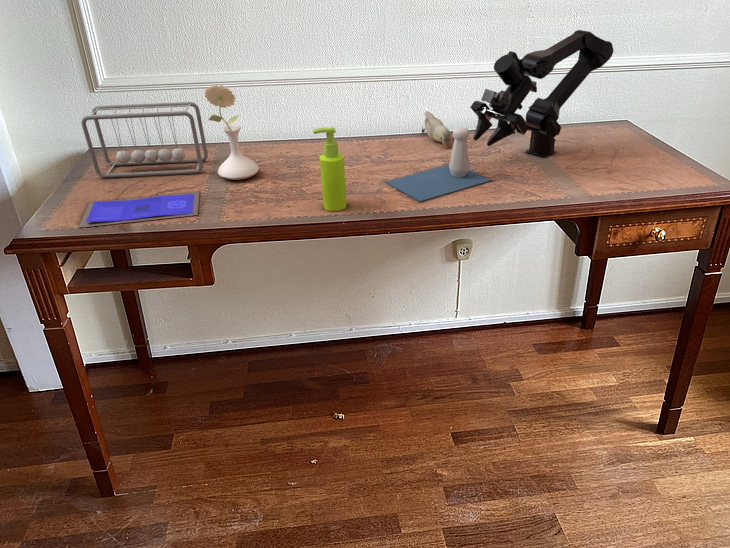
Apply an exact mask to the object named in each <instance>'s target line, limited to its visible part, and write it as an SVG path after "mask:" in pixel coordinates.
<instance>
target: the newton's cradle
mask: <svg viewBox="0 0 730 548" xmlns="http://www.w3.org/2000/svg"><path fill="white" fill-rule="evenodd" d="M190 107H193V108H194V110H195V114H196V120H197V125H198V131H199V137H200V143H201V147H202V151H203V152H202V153H203V156H202V154H201V149H200V143H199V139H198V132H197V127H196V121H195V119H194V116H193V114H191V113H190V112H189V111H188V110H189V108H190ZM163 108H168V110H167V111H158V109H163ZM172 108H185V109H184V110H171V109H172ZM144 109H154V110H153V111H149V112H148V111H147V112H146V111H144ZM118 110H119V111H121V110H126V111H125V112H123V113H117V111H118ZM130 110H142V112H141V111H139V112H131V111H130ZM98 111H114V113H104V114H103V113H102V114H97V112H98ZM182 116H183V117H184V116H186V117H187V118H188V119H189V124H190V128H191V133H192V134H191V135H192V138H193V143H194V149H195V154H196V157H193V158H186V152H185V150H184V149H183V148H181V147H178V142H177V140H176V139H177V135H176V134H174V133H176V129H175V128H172V126H173V127H175V123H174V122H172V125H171V120H170V117H171V118H172V121H174V117H182ZM160 117H161V118H164V117H167V118H168V121H169V122H168V123H169V126H170V129H171V133H172V137H173V140H174V144H175V148H173V150H170V149H168V148H165V145H164V144H163V143H164V139H163V138H162V137H163V134H162V128H161V123H160V121H161V120H160ZM142 118H144V119H146V118H153V119H154V122H155V126H156V130H157V133H158V137H159V140H160V143H161V149H159V151H158V152H157V151H156V149H153V148H151V144H150V142H149V141H150V139H149V137H150V136H149V133H148V131H146V132H145V128H146V130H148V128H147V127H148V125H147V122H146V120H144V123H145V128H144V126H143V122H142ZM156 118H157V119H158V124H157V121H156ZM114 119H116V124H117V125H116V126H117V131H118V134H117V131H116V127H115V125H114V121H113V120H114ZM119 119H125V122H126V125H127V127H128V131H129V133H130V136H131V139H132V143H133V146H134V150H133V151H132V152H131V154H130V153H129V152H128V151H127V150H123V146H122V145H121V144H122V140H121V139H119V138H121V134H120V128H119V124H118V123H119V121H118V120H119ZM127 119H130V122H131V124H133V121H132V119H139V120H140V124H141V126H142V130H143V134H144V136H145V141H146V143H147V146H148V149H147V150H146V151H145V152H144V151H142V150H141V149H138V147H137V146H136V145H137V142H136V137H135V133H134V126H133V125H131V128H132V132H131V129H130V126H129V123H128V120H127ZM99 120H111V124H112V127H113V131H114V133H115V135H116V136H115V137H116V139H117V143H118V146H119V149H120V150H119V151H117V153H116V155H115V158H116V160H117V161H111V160H110V157H109V154H108V150H107V146H106V143H105V139H104V136H103V132H102V129H101V125H100V121H99ZM87 121H93V122H94V125H95V129H96V132H97V135H98V140H99V144H100V147H101V150H102V155H103V158H104V160H105V162H106V163H107V164H108V163H112V164H108V165H109V166H111V167H110V168H109V170H108V171H107V172H106V173H103V172H101V170H100V167H99V163H98V160H97V156H96V153H95V150H94V147H93V143H92V139H91V136H90V132H89V130H88V126H87ZM158 125H159V128H158ZM81 127H82V131H83V134H84V138H85V141H86V144H87V147H88V148H87V149H88V151H89V154H90V158H91V161H92V164H93V167H94V168H93V169H94V171H95V173H96V174H97V176H98V177H100V178H103V179H113V178H114V179H115V178H129V177H130V178H132V177H133V178H134V177H136V178H137V177H154V176H172V175H175V176H176V175H190V174H191V175H193V174H199V173H200V172H202V170H203V169H204V164H203V162H205V161H206V160H207V159H208V155H209V154H208V147H207V142H206V136H205V132H204V128H203V127H204V126H203V120H202V116H201V111H200V108H199V105H198V104H197V103H195V102H193V101H183V102H181V101H180V102H158V103H157V102H156V103H155V102H154V103H133V104H132V103H131V104H110V105H109V104H108V105H97V106H94V107H93V109H92V111H91V114H90V115H85V116H84V117H83V118H82V119H81ZM159 131H160V132H159ZM132 134H133V135H132ZM118 137H119V138H118ZM131 160H132V161H134V162H131ZM143 161H149V162H143ZM115 162H118V163H115ZM119 162H120V163H119ZM128 162H129V163H128ZM183 163H184V164H186V163H187V164H188V163H197V166H196V168H195V169H176V170H157V171H137V172H135V171H134V173H136V174H132V173H133V172H118V173H116V172H115V173H110V172H111V171H112V170H113V169H114V167H125V166H126V167H127V166H145V165H164V164H165V165H166V164H167V165H168V164H183Z"/></svg>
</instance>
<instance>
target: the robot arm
mask: <svg viewBox="0 0 730 548" xmlns="http://www.w3.org/2000/svg"><path fill="white" fill-rule="evenodd" d="M577 52H578V58H577V61H576V62H575V64H574V65H573V66H572V67H571V69H570V70H568V72H567V73H566V74H565V76H564V77H563V78H562V79H561V80H560V82H558V84H556V86H555V88H554V89H553V90H552V91H551V92H550V93H549V95H548V96H547V97H545V98H542V97H541V98H540V97H537V98H536V99H535V100H534V102H533V103H532V104H531V105H529V106H528V110H527V111H526V113H525V118H524V117H523V115H522V114H519V113H516V112H517V111H518V110H520V111H521V110H522V109H523V107H524V105H522V103H523V102H524V100H525V99H526V98H527V96H528V95H529V93H530V92H532V93H537V92H538V87H537V81H534V80H533V79H538V80H542V79H545V78H546V77H547V76H549V74H550V73H552V72H553V70H554V68H555V67H556V65H558V64H559V63H560V62H562V61H564V60H565V59H567V58H569V57H571V56H573V55H574V54H576V53H577ZM613 54H614V46H613V43H612V42H611V41H610V40H605V39H602V38H601V37H599V36H597V35H595V34H594V33H592V32H591V31H588V30H582V29H578V30H575V31H574V32H573V33H572V34H570V35H568V36H567V37H565V38H564V39H563V38H562V40H560V41H558V42H557V43H555V44H553V45H552V46H550V47H548V48H546V49H541V50H534V51H532V52H528V53H526V54H525V55H524V56H523V57H522V58H519V56H518V54H517V52H515V51H511V50H509V52H508V53H507V54H504V55H502V56H500V57H499V58H497V59H496V61H494V64H493V70H494V72H495V74H496V75H497V76H498V77H499V78H500V80H501V81H502V83H503V84H504V85H505V86H507V87H506V88H505V90H499V92H498V91H494V90H491V89H487V88H485V89H484V91H483V94H482V96H481V99H480V100H481V101H480V100H474V101H473V103H472V104H471V105H470V106H469V108H470V109H471V110H472V112H473V113H474V114H475V115H476V116H477V123H476V128H475V131H474V134H473V138H472V139H473V140H474V141H478V140H479V139H481V137H482V136H484V134H486V132H487V131H488V130H489V129H490V128H492V126H493V123H492V122H491V120H492V119H494V120H497V126H496V128H495V129H494V131H493V132H492V134H491V135H490V137H489V138H488V140H487V142H486V145H487V147H491V146H492V145H494V144H496V143H498V142H499V141H501V140H503V139H505V138H507V137H509V136H511V135H516V133H518V134H520V135H523V136H524V135H525V134H526V133H527V132H528V131H530V141H529V146H528V147H529V148H528V149H527V150H525V153H527V154H530V155H534V156H538V157H541V158H545V157H547V156H550V155H552V154H554V153H556V149H555V144H556V138H555V137H557V136H559V135H560V133H561V131H562V126H561V125H560V124H559V122H558V120H559V118H560V111H561V108H562V107H563V106H564V105H565V103H567V101H568V100H569V99H570V97H571V96H572V95H573V94H574V93H575V91H576V90H577V89H578V88H579V87H580V85H581V84H582V83H583V82H584V81H585V79H586V78H588V76H589V75H590V74H591V73H592V72H593V71H595V70H597V69H600V68H602V67H603V66H604V65H605V64H607V63H608V62H609V61H610V59H611V58H612V56H613ZM531 78H533V79H531ZM487 103H488V104H487Z"/></svg>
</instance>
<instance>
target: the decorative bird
mask: <svg viewBox="0 0 730 548" xmlns="http://www.w3.org/2000/svg"><path fill="white" fill-rule="evenodd" d="M423 115H424V116H425V118H424V126H423V125H421V126H422V127H421V133H420V135H422V134H423V136H425V134H427V135H428V137H429V138H430V139H431V140H432V141H436V142H438V143H441V144H442V145H443V146H444V148H446V149H448V147H449V146H450V142H451V132H450V130H449V128H448V127H447V126H445V125H444V123H443V121H442V120H441V119H439V118H437V117H435V115H434V114H433V113H432V112H430V111H429V110H425V112H423Z"/></svg>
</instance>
